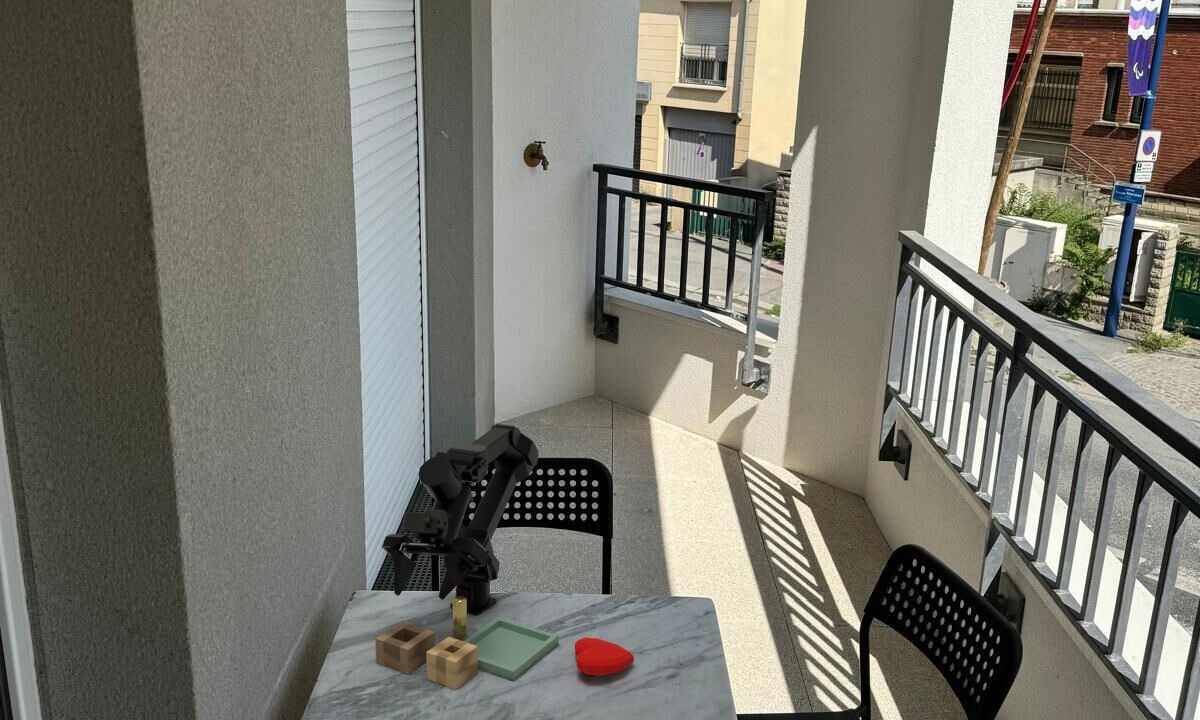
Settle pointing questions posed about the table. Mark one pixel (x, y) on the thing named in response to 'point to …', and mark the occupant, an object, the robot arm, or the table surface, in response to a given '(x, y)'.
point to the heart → (601, 657)
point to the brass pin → (460, 618)
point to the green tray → (510, 647)
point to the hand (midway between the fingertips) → (418, 596)
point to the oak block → (452, 662)
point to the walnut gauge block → (404, 647)
